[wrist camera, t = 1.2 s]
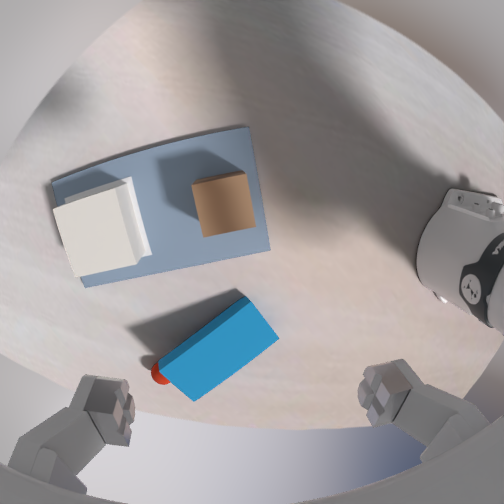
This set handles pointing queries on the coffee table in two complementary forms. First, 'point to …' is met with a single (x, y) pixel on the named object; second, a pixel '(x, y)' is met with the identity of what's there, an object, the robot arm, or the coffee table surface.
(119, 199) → the base block
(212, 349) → the lever
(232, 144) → the board
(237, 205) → the walnut cube
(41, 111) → the coffee table surface
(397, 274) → the coffee table surface
